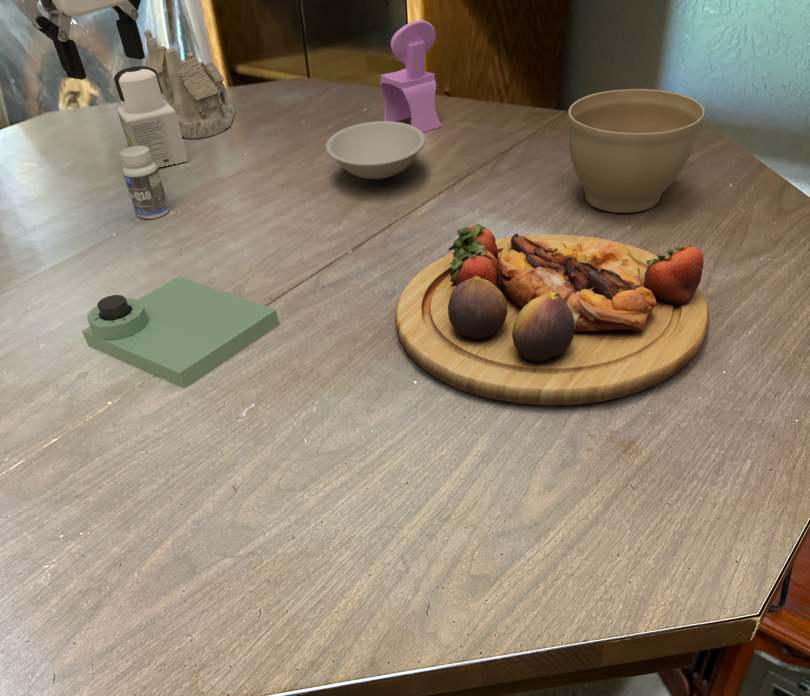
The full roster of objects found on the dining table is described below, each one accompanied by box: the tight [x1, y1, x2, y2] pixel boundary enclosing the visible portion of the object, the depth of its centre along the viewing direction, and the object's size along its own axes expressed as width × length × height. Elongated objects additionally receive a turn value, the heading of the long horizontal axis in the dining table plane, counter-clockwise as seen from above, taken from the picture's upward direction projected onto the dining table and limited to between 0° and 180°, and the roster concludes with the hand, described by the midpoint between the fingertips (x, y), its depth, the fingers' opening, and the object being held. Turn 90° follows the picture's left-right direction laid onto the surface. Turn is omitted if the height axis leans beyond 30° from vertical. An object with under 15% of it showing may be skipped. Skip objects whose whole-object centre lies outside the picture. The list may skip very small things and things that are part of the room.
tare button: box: [96, 294, 131, 321], centre depth 77 cm, size 3×3×2 cm
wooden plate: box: [394, 223, 710, 406], centre depth 73 cm, size 32×32×8 cm
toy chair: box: [379, 19, 442, 133], centre depth 117 cm, size 8×9×15 cm
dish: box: [325, 120, 426, 180], centre depth 105 cm, size 18×14×5 cm
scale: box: [81, 276, 280, 389], centre depth 78 cm, size 16×14×4 cm
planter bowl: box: [567, 88, 706, 214], centre depth 92 cm, size 16×16×11 cm
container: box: [113, 65, 189, 168], centre depth 114 cm, size 8×8×13 cm
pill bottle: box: [119, 146, 170, 220], centre depth 101 cm, size 5×5×8 cm
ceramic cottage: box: [143, 29, 237, 140], centre depth 127 cm, size 16×16×15 cm
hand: (107, 67), depth 91 cm, fingers open, 8 cm apart
